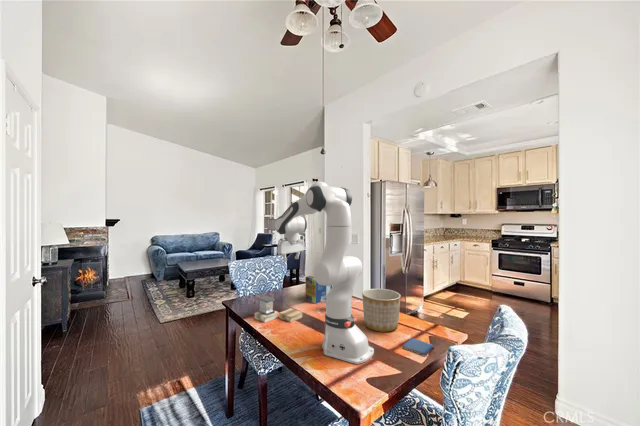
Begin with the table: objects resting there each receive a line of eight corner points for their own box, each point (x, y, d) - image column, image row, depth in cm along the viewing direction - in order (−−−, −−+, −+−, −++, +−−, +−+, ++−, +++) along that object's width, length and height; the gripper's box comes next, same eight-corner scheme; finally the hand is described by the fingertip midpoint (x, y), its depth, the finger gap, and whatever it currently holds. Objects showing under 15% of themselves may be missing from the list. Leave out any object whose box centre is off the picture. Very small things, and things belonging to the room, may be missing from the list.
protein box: (305, 300, 181) (305, 276, 181) (322, 295, 192) (322, 273, 191) (315, 304, 173) (315, 279, 173) (332, 298, 184) (332, 275, 184)
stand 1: (277, 317, 151) (277, 312, 151) (265, 322, 144) (265, 317, 144) (267, 313, 157) (267, 308, 157) (254, 318, 150) (254, 312, 150)
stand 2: (302, 317, 152) (302, 311, 152) (290, 322, 145) (290, 316, 145) (290, 313, 158) (290, 308, 158) (279, 318, 151) (279, 312, 151)
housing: (274, 313, 150) (274, 298, 150) (267, 315, 146) (267, 300, 146) (265, 309, 155) (265, 295, 155) (258, 312, 151) (258, 297, 151)
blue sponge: (411, 340, 126) (411, 336, 126) (435, 349, 119) (435, 344, 119) (401, 349, 118) (401, 344, 118) (425, 358, 111) (425, 353, 111)
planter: (371, 315, 155) (371, 286, 155) (405, 323, 144) (405, 292, 144) (355, 327, 139) (355, 295, 139) (392, 337, 128) (392, 302, 128)
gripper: (282, 239, 156) (282, 263, 156) (306, 236, 172) (306, 258, 172) (274, 238, 160) (274, 261, 160) (299, 235, 176) (299, 257, 176)
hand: (291, 260), depth 166 cm, fingers open, 8 cm apart
